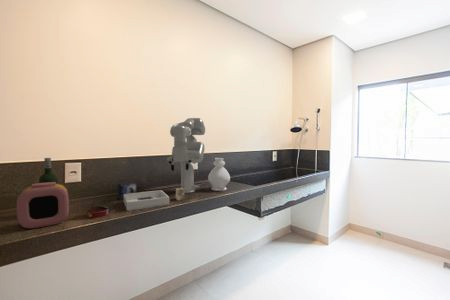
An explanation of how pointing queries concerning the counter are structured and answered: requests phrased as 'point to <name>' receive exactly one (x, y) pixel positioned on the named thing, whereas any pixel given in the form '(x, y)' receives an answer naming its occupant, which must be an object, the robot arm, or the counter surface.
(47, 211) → the alarm clock
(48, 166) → the wine bottle
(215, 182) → the decorative vase
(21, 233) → the counter surface
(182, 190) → the plug
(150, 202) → the walled box
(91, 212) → the canned food
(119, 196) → the small box
